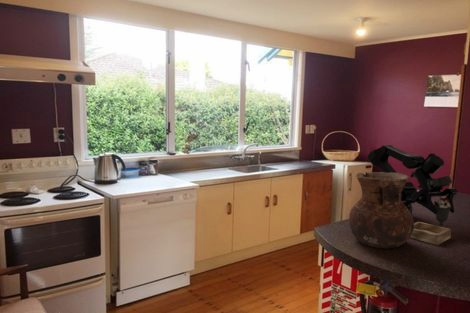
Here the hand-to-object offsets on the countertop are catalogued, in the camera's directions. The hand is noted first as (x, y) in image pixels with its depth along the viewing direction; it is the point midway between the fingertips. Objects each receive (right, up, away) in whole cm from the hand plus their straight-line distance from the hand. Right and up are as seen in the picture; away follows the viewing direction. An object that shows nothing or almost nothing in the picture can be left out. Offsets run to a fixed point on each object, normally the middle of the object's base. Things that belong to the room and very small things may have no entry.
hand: (444, 213), depth 144 cm
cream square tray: (-10, -8, -6) cm, 14 cm away
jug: (-31, -9, -12) cm, 34 cm away
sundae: (0, -8, +2) cm, 8 cm away
